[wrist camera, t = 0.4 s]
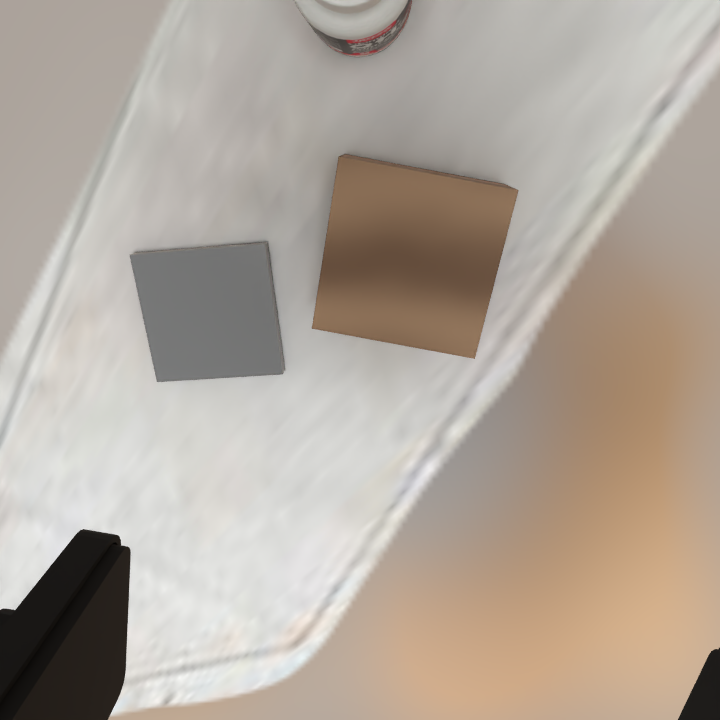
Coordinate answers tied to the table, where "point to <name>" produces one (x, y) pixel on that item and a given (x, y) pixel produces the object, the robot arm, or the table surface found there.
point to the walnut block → (411, 255)
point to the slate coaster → (209, 311)
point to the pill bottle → (356, 23)
